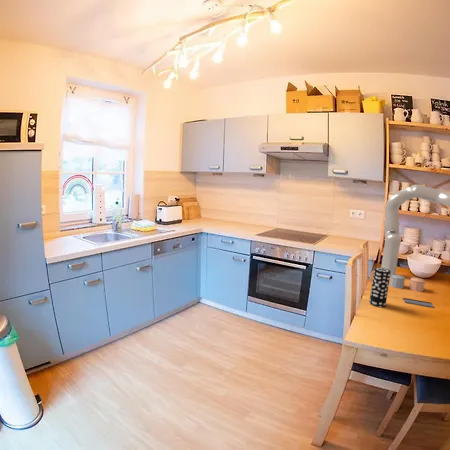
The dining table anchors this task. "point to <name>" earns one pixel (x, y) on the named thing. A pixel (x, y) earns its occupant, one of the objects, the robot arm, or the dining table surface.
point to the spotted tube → (379, 287)
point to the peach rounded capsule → (417, 284)
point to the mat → (418, 302)
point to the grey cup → (397, 281)
